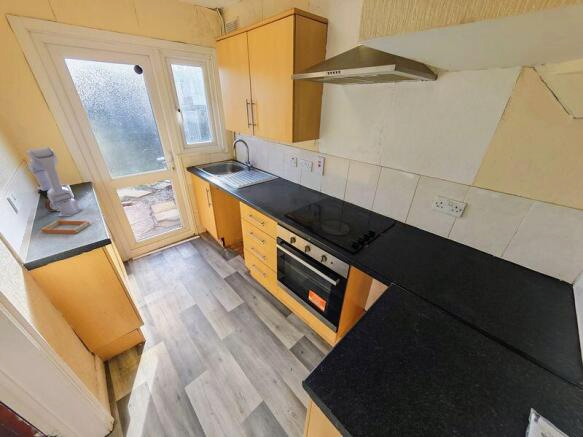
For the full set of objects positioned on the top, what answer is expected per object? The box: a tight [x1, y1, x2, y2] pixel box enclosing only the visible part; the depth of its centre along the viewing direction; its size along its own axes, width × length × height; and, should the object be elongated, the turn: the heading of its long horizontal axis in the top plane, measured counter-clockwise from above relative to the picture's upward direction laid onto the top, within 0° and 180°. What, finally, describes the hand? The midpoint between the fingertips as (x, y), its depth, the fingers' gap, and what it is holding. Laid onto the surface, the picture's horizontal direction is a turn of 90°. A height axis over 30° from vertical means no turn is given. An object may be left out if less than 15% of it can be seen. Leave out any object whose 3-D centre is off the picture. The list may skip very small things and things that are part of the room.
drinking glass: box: [61, 183, 75, 199], centre depth 168 cm, size 7×7×10 cm
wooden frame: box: [40, 219, 91, 235], centre depth 133 cm, size 10×19×2 cm, turn 88°
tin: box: [44, 199, 58, 211], centre depth 154 cm, size 15×3×8 cm, turn 0°
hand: (55, 200), depth 153 cm, fingers open, 7 cm apart
